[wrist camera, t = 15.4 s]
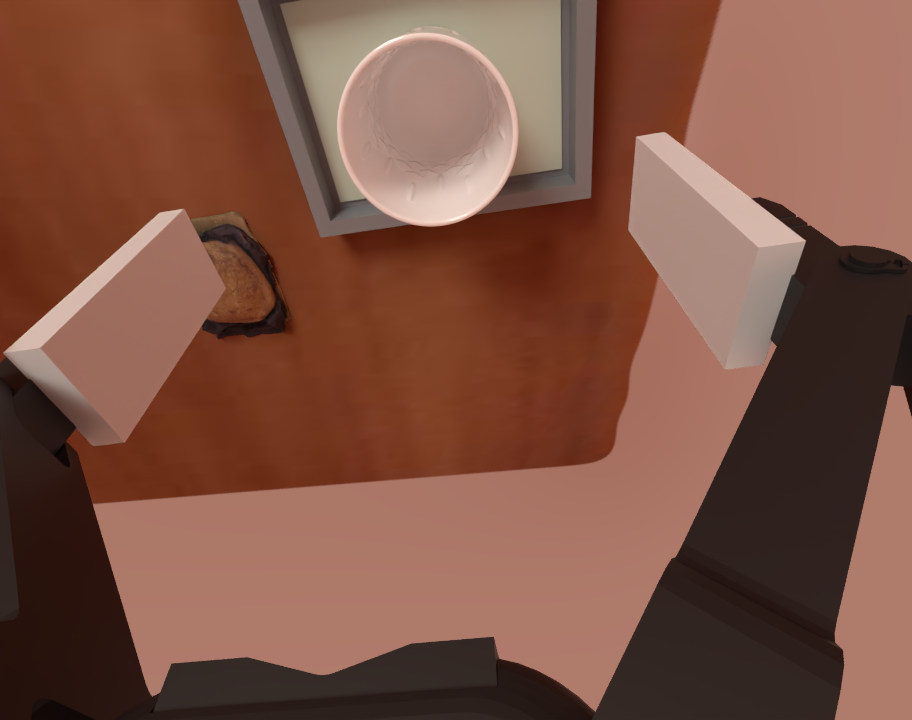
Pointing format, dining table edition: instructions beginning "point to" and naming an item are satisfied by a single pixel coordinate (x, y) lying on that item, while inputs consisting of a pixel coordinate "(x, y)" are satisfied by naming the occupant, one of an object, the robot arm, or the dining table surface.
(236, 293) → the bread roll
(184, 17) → the dining table surface
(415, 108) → the white cup
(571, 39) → the gray divided tray
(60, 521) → the robot arm
